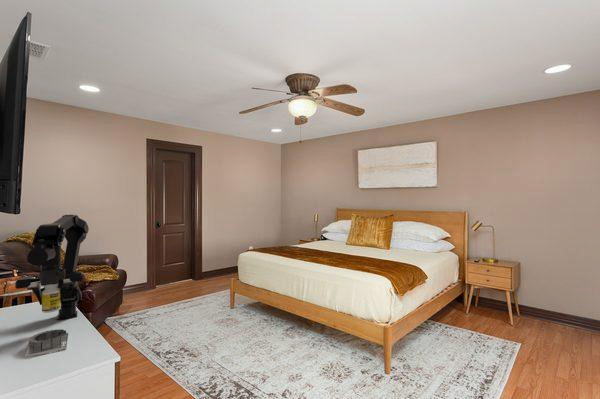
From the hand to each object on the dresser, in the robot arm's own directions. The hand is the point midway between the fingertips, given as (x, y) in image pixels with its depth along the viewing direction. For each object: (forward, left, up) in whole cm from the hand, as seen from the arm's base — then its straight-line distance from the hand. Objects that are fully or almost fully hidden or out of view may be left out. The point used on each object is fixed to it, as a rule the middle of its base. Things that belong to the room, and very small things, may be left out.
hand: (51, 303), depth 114 cm
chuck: (+13, 0, -10) cm, 16 cm away
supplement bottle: (0, 0, -3) cm, 3 cm away
